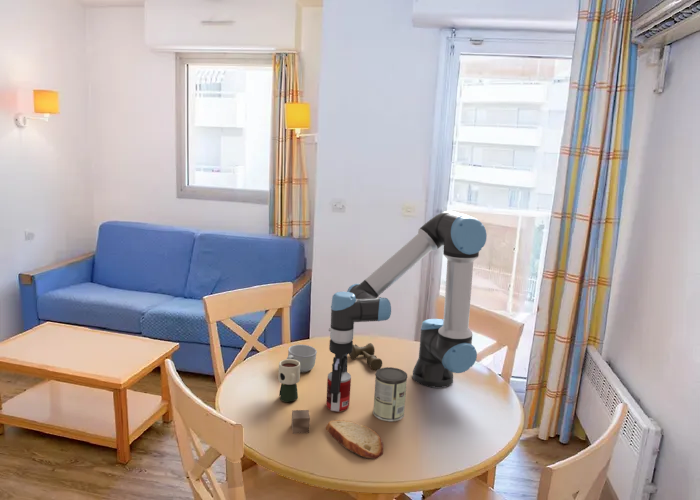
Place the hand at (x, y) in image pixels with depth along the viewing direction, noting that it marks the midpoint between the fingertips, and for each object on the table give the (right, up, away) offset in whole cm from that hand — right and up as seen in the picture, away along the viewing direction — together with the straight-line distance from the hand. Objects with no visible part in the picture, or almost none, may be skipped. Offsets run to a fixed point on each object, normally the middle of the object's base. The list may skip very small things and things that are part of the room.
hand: (337, 404), depth 185 cm
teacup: (-15, +5, +26) cm, 31 cm away
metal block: (-11, -4, -15) cm, 19 cm away
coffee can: (+17, -3, -3) cm, 17 cm away
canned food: (0, -1, 0) cm, 1 cm away
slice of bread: (+5, -6, -19) cm, 21 cm away
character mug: (-17, +1, +3) cm, 17 cm away
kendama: (+10, +6, +38) cm, 40 cm away
